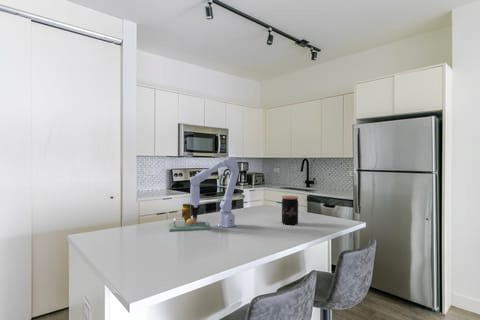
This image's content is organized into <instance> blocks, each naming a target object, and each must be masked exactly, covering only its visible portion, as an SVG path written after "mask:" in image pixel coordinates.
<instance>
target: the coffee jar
mask: <svg viewBox="0 0 480 320" xmlns="http://www.w3.org/2000/svg"><path fill="white" fill-rule="evenodd" d="M281 198H282V199H281V223H282V225H284V224H285V226H297V225H298V223H299V200H298V199H299V197H298V196H297V195H283V196H281Z"/></svg>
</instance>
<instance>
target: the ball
mask: <svg viewBox="0 0 480 320" xmlns="http://www.w3.org/2000/svg"><path fill="white" fill-rule="evenodd" d="M186 223H187V225H191V224H193V218H191V219H188V220H187V221H186Z"/></svg>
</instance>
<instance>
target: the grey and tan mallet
mask: <svg viewBox="0 0 480 320" xmlns="http://www.w3.org/2000/svg"><path fill="white" fill-rule="evenodd" d="M192 220H193V224H197V222H198V217H197V218H193V217H192Z"/></svg>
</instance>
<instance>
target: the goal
mask: <svg viewBox="0 0 480 320" xmlns="http://www.w3.org/2000/svg"><path fill="white" fill-rule="evenodd" d="M173 223H174V228H176V227H185V220H184V218H182V217H174V218H173Z"/></svg>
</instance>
